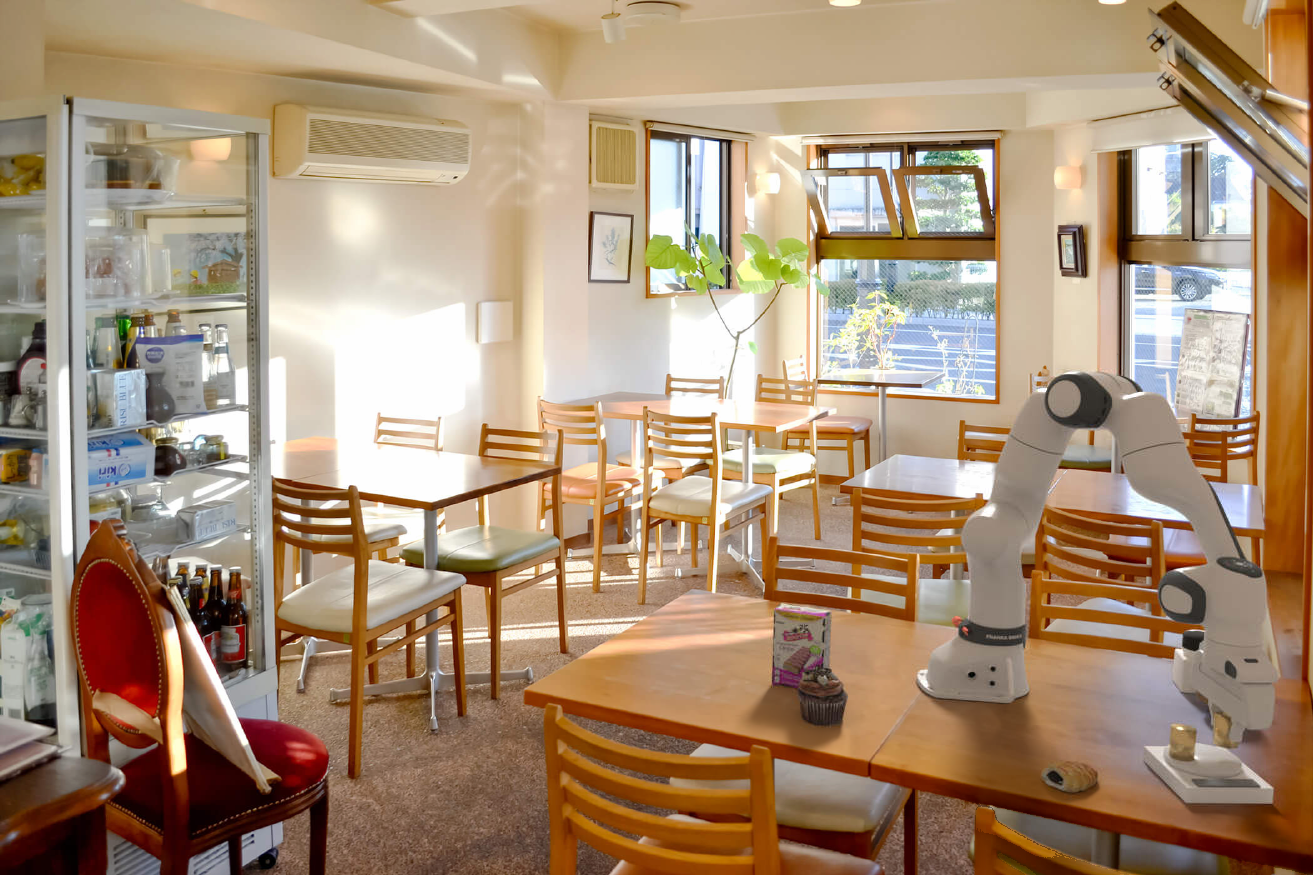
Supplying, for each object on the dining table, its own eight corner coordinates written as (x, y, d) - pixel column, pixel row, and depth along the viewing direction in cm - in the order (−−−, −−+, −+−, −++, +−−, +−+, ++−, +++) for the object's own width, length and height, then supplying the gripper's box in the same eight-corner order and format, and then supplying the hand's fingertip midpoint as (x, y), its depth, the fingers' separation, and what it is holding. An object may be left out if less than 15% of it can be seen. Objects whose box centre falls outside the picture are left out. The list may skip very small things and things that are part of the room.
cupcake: (835, 731, 206) (837, 680, 204) (788, 720, 211) (789, 670, 209) (855, 714, 214) (856, 665, 212) (809, 704, 219) (810, 656, 217)
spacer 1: (1198, 761, 186) (1201, 733, 185) (1175, 761, 186) (1177, 733, 185) (1187, 751, 190) (1189, 723, 189) (1164, 751, 190) (1166, 723, 189)
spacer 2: (1243, 748, 185) (1245, 720, 184) (1219, 748, 185) (1221, 720, 184) (1231, 738, 189) (1233, 711, 188) (1207, 738, 189) (1209, 711, 188)
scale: (1185, 802, 179) (1187, 781, 178) (1142, 760, 194) (1144, 740, 194) (1272, 803, 179) (1274, 782, 178) (1222, 760, 194) (1224, 741, 194)
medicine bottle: (1218, 695, 225) (1223, 639, 223) (1180, 692, 226) (1185, 636, 224) (1208, 683, 232) (1212, 628, 230) (1172, 680, 233) (1176, 625, 231)
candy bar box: (770, 684, 229) (772, 608, 227) (778, 677, 234) (780, 602, 231) (823, 693, 224) (825, 616, 222) (829, 685, 229) (832, 609, 227)
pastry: (1076, 769, 191) (1078, 749, 190) (1108, 786, 185) (1110, 764, 184) (1037, 781, 187) (1038, 759, 186) (1069, 798, 181) (1070, 776, 180)
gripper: (1183, 635, 195) (1178, 709, 197) (1245, 676, 175) (1238, 759, 177) (1219, 635, 195) (1213, 709, 197) (1284, 676, 175) (1277, 759, 177)
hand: (1225, 733), depth 187 cm, fingers closed on spacer 2, 4 cm apart
